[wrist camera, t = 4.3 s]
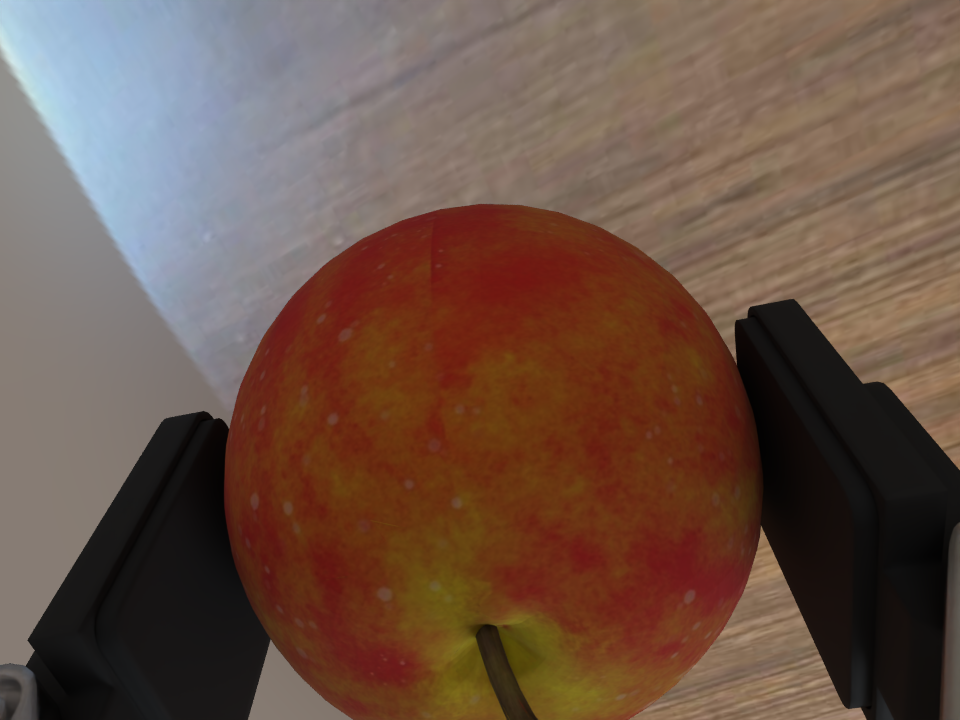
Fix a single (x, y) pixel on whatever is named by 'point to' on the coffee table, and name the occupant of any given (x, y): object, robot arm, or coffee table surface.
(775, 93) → the coffee table surface
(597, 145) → the coffee table surface
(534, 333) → the fruit
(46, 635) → the robot arm
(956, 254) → the coffee table surface
